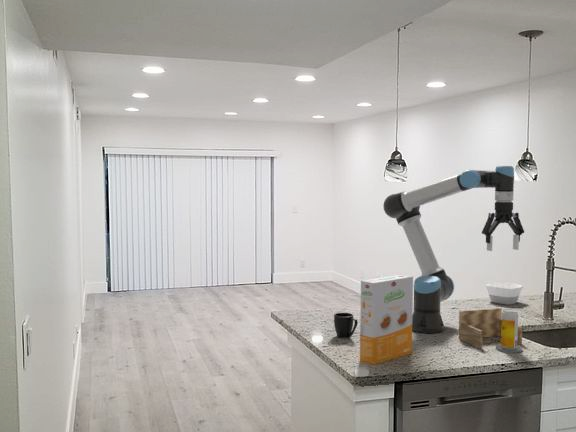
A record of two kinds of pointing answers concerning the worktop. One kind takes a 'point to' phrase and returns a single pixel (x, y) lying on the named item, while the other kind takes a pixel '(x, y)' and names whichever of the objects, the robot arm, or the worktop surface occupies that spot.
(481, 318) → the shelf bay
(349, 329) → the mug
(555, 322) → the worktop surface
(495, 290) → the bowl
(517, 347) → the coaster
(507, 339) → the beer can
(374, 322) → the cereal box
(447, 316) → the worktop surface
